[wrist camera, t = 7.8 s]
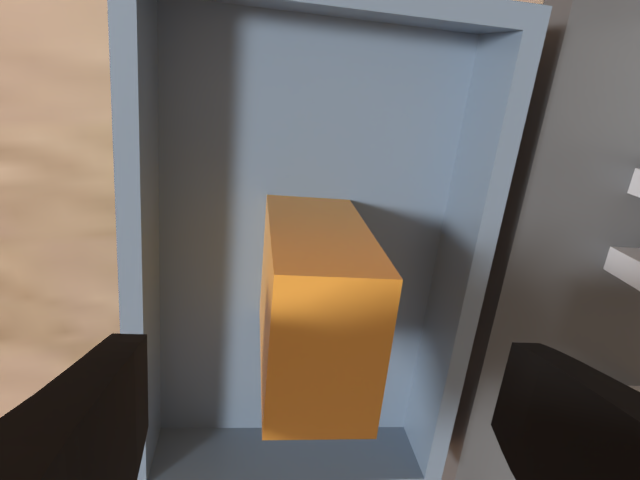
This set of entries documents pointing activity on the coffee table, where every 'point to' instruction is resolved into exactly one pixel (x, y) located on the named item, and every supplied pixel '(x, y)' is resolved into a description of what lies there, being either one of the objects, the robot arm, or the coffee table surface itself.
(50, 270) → the coffee table surface
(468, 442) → the panel
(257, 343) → the tray
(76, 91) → the coffee table surface
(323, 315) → the orange fuse
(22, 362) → the coffee table surface
